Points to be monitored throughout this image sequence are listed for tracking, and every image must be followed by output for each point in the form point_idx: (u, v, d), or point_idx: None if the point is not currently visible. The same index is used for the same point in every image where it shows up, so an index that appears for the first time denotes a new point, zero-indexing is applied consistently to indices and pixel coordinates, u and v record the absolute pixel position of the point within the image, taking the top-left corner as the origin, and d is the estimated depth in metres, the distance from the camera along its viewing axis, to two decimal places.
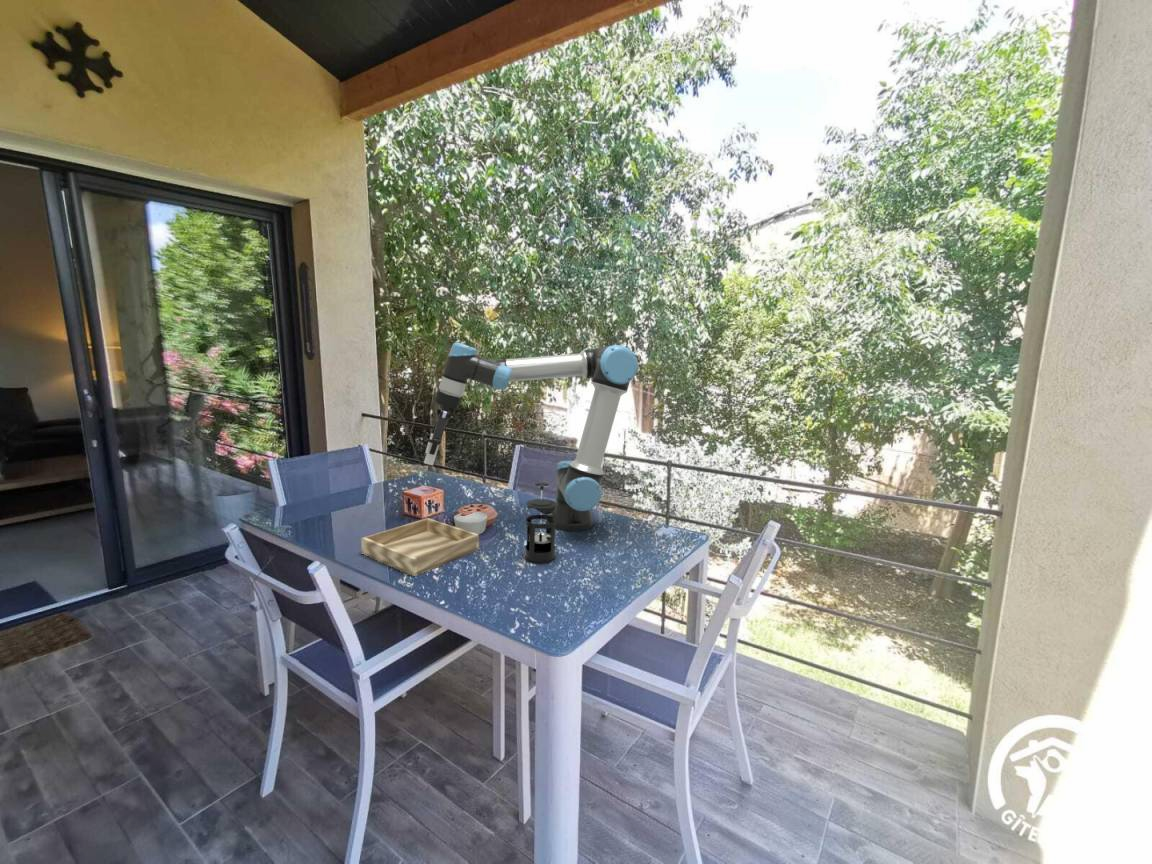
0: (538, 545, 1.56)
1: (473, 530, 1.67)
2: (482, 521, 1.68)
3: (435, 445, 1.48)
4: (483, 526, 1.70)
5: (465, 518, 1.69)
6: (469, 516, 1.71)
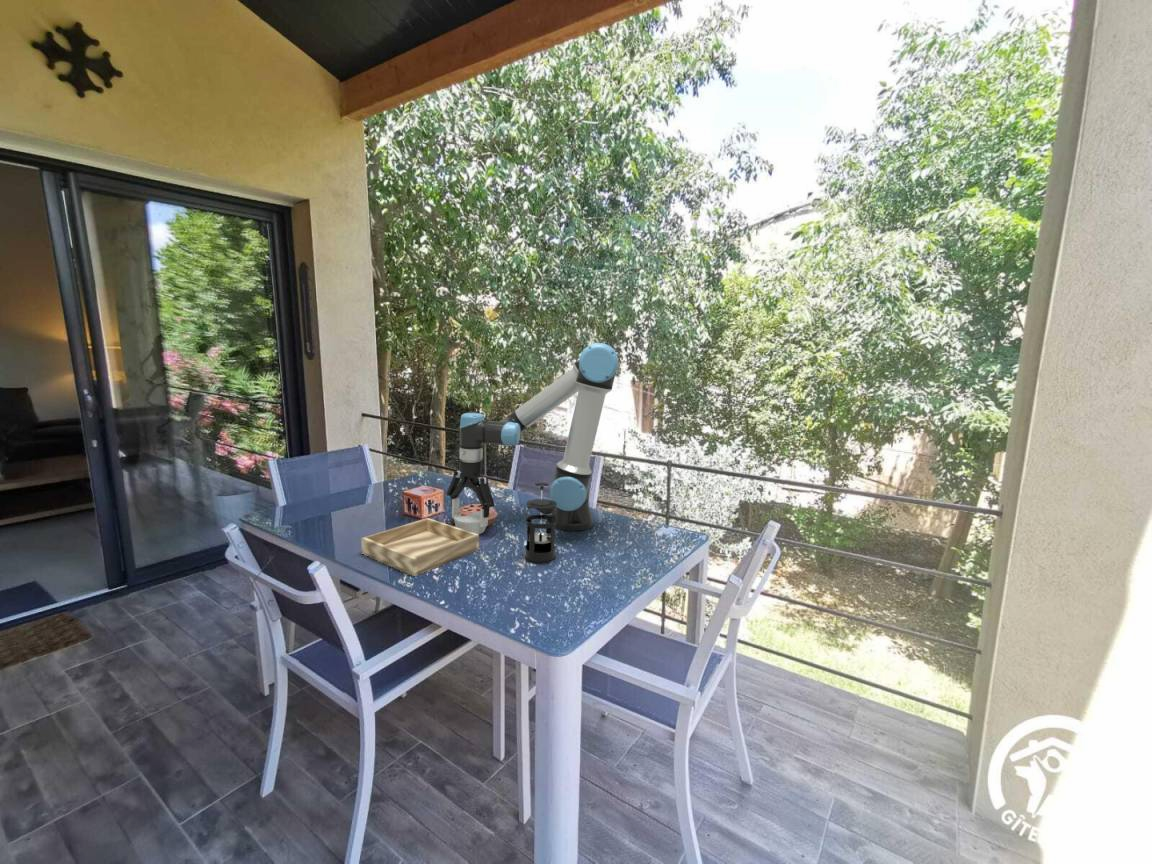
0: (538, 545, 1.56)
1: (473, 530, 1.67)
2: None
3: (488, 508, 1.66)
4: None
5: (465, 518, 1.69)
6: (469, 516, 1.71)
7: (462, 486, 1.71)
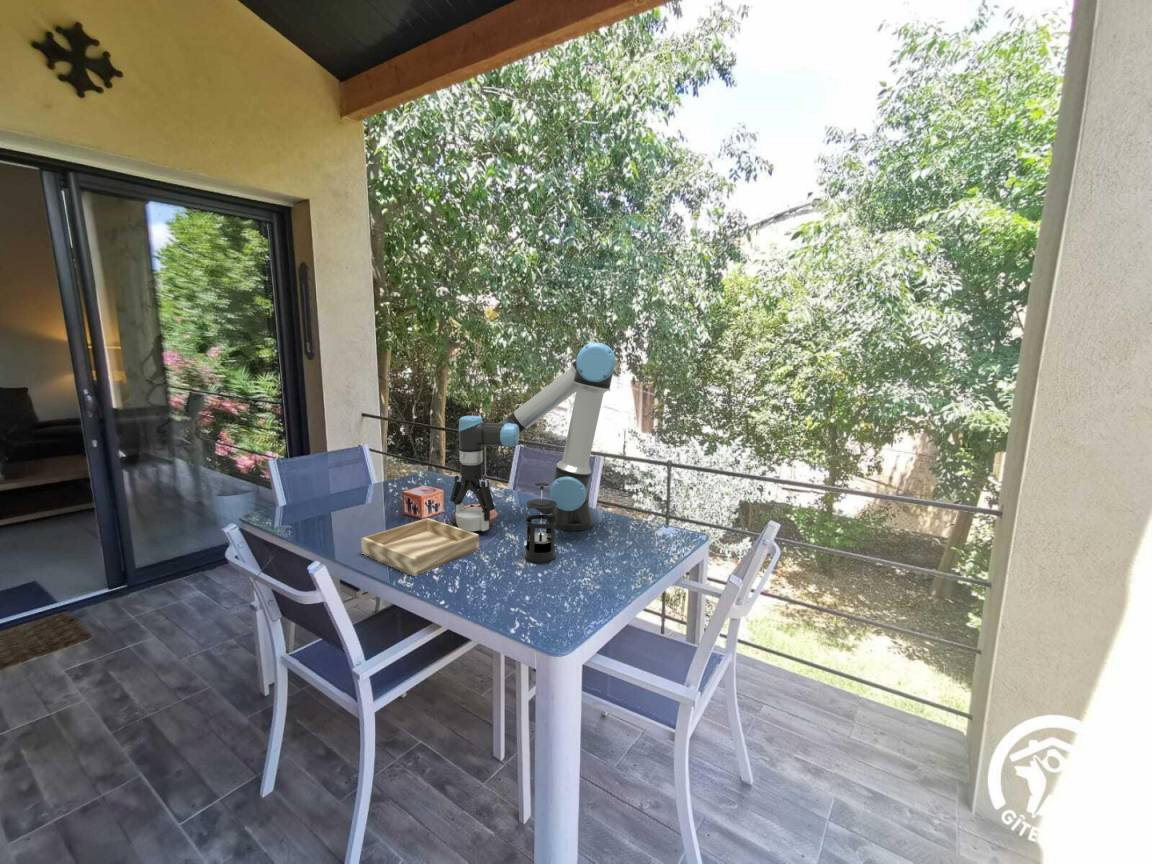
0: (538, 545, 1.56)
1: (475, 526, 1.67)
2: None
3: (488, 512, 1.67)
4: None
5: (466, 514, 1.69)
6: (470, 512, 1.71)
7: (464, 490, 1.71)
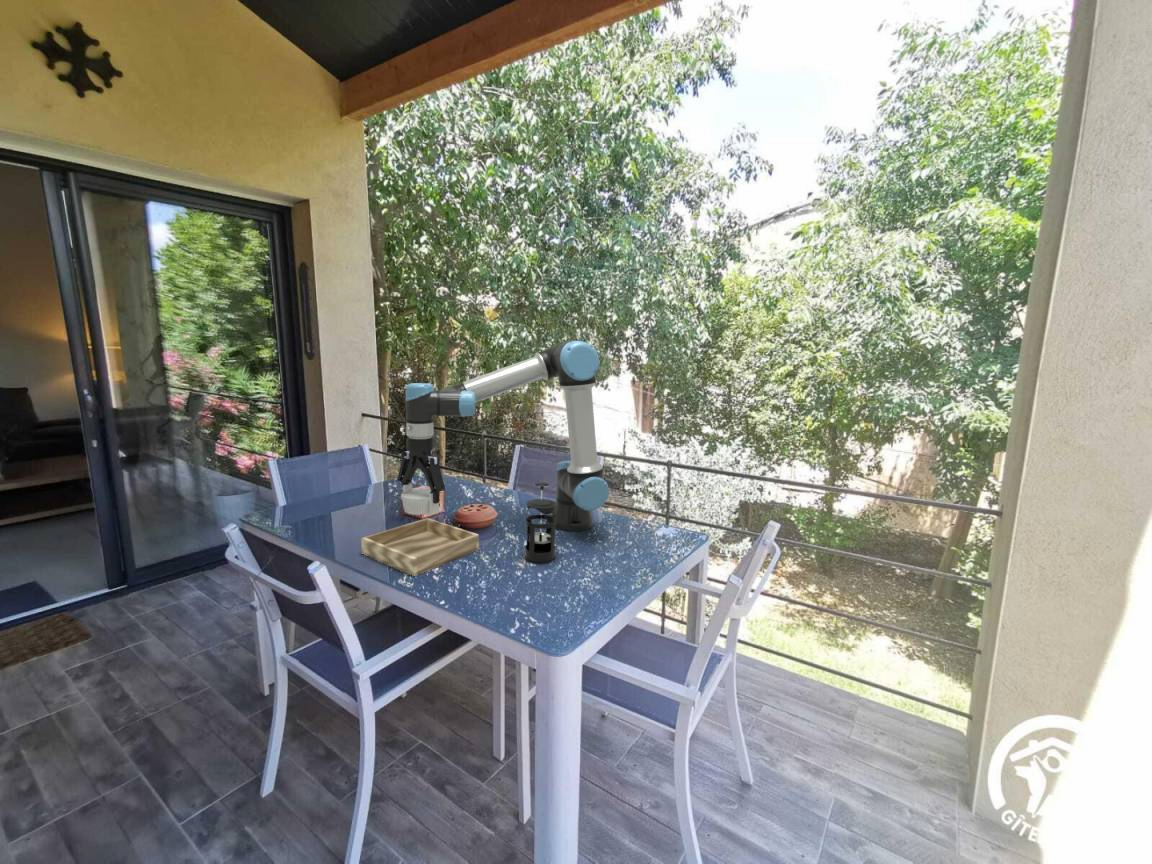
0: (538, 545, 1.56)
1: (422, 508, 1.46)
2: None
3: (438, 493, 1.46)
4: None
5: (413, 495, 1.48)
6: (419, 493, 1.50)
7: (412, 468, 1.50)
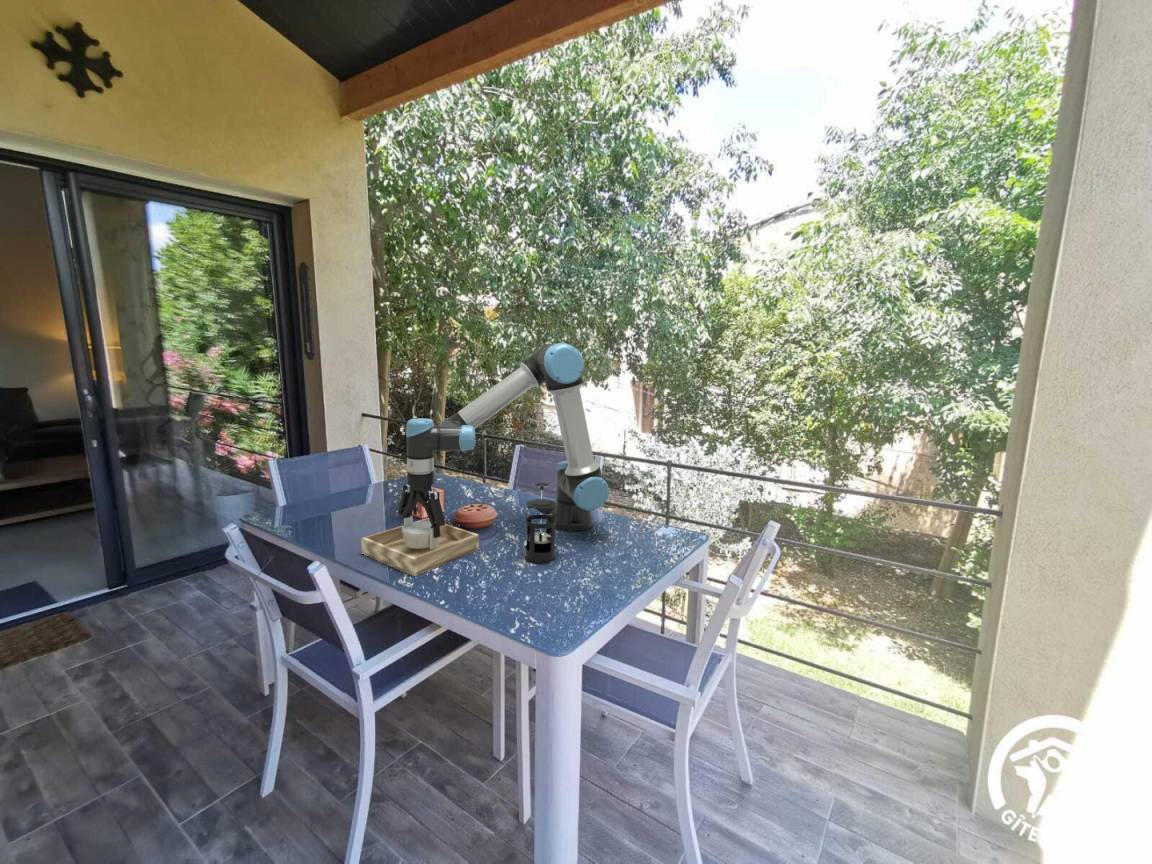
0: (538, 545, 1.56)
1: (423, 543, 1.48)
2: None
3: (438, 527, 1.48)
4: None
5: (413, 529, 1.49)
6: (419, 526, 1.52)
7: (413, 502, 1.52)
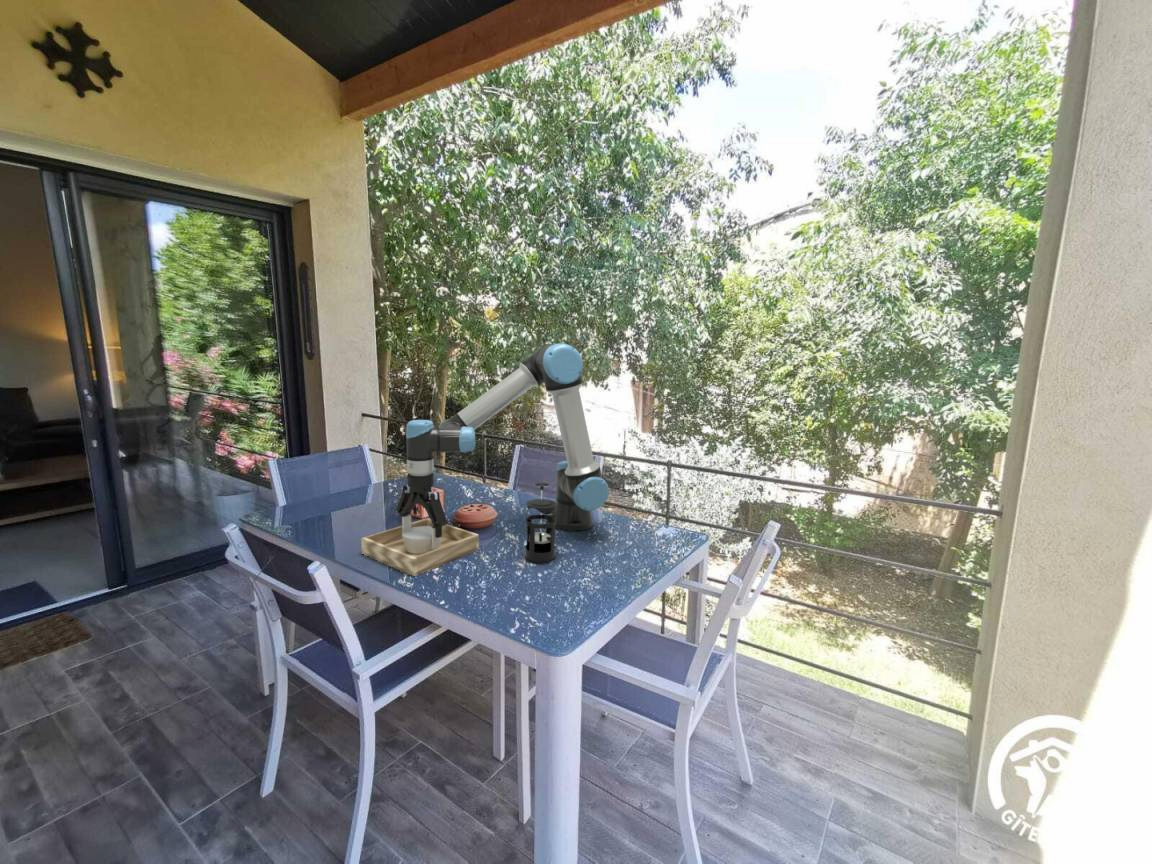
0: (538, 545, 1.56)
1: (423, 548, 1.48)
2: None
3: (440, 527, 1.47)
4: None
5: (414, 534, 1.50)
6: (420, 532, 1.52)
7: (412, 502, 1.52)
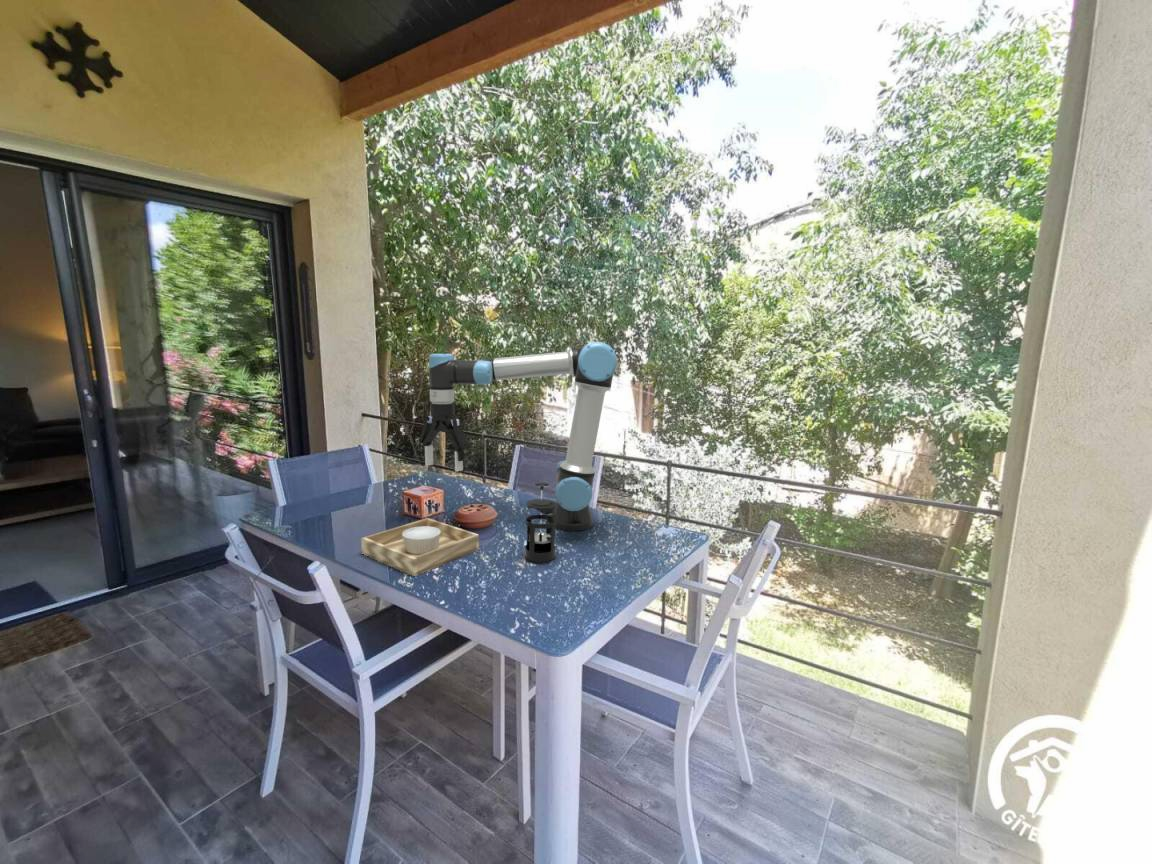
0: (538, 545, 1.56)
1: (423, 548, 1.48)
2: (433, 538, 1.49)
3: (462, 451, 1.60)
4: (435, 543, 1.51)
5: (414, 535, 1.50)
6: (420, 532, 1.52)
7: (434, 431, 1.65)
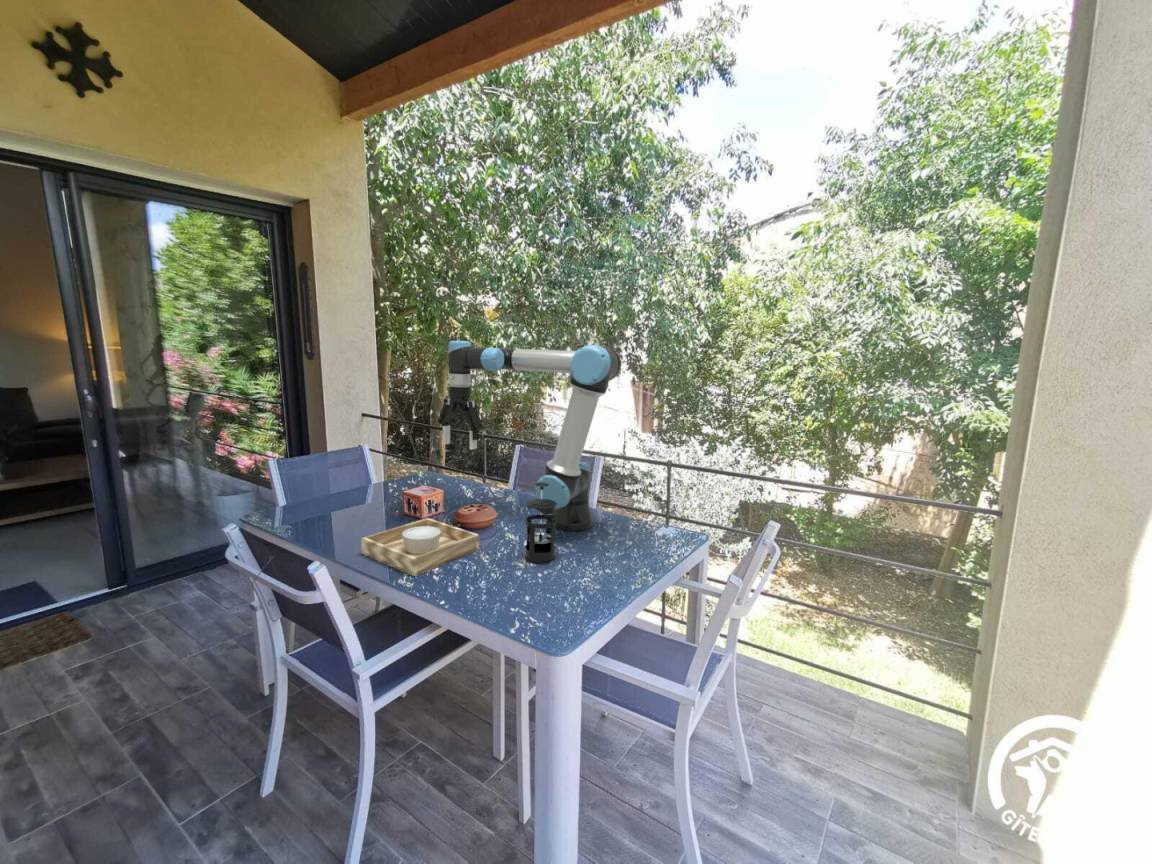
0: (538, 545, 1.56)
1: (423, 548, 1.48)
2: (433, 538, 1.49)
3: (477, 431, 1.74)
4: (435, 543, 1.51)
5: (414, 535, 1.50)
6: (420, 532, 1.52)
7: (452, 412, 1.79)
